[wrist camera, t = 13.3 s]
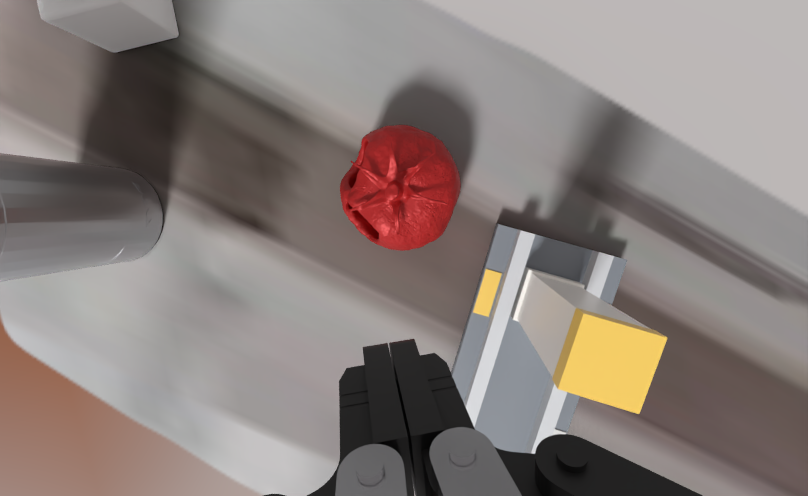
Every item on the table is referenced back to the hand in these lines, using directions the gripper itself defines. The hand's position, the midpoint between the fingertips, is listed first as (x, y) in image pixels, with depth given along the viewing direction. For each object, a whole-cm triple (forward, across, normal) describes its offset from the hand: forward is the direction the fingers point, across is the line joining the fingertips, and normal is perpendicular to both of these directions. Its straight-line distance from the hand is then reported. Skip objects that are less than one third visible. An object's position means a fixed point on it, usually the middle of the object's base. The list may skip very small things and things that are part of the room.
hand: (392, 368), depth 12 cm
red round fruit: (+26, +5, -1) cm, 27 cm away
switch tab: (+19, +15, -10) cm, 26 cm away
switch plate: (+20, +12, -17) cm, 28 cm away
